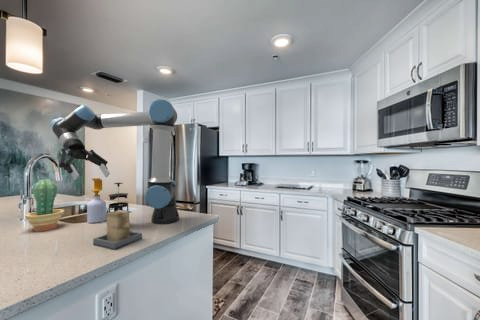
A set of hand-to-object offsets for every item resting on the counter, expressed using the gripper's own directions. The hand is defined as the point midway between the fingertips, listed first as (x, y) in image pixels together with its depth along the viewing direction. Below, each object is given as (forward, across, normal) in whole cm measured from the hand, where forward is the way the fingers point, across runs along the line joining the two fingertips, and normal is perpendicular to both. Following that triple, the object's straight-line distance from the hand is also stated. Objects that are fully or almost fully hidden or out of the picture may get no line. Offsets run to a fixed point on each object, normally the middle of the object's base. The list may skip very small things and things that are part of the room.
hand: (93, 176), depth 99 cm
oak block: (+29, -1, -9) cm, 30 cm away
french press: (+16, -16, -24) cm, 33 cm away
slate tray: (+29, -1, -10) cm, 31 cm away
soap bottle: (+1, -18, -38) cm, 43 cm away
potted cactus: (-8, 0, -47) cm, 48 cm away
